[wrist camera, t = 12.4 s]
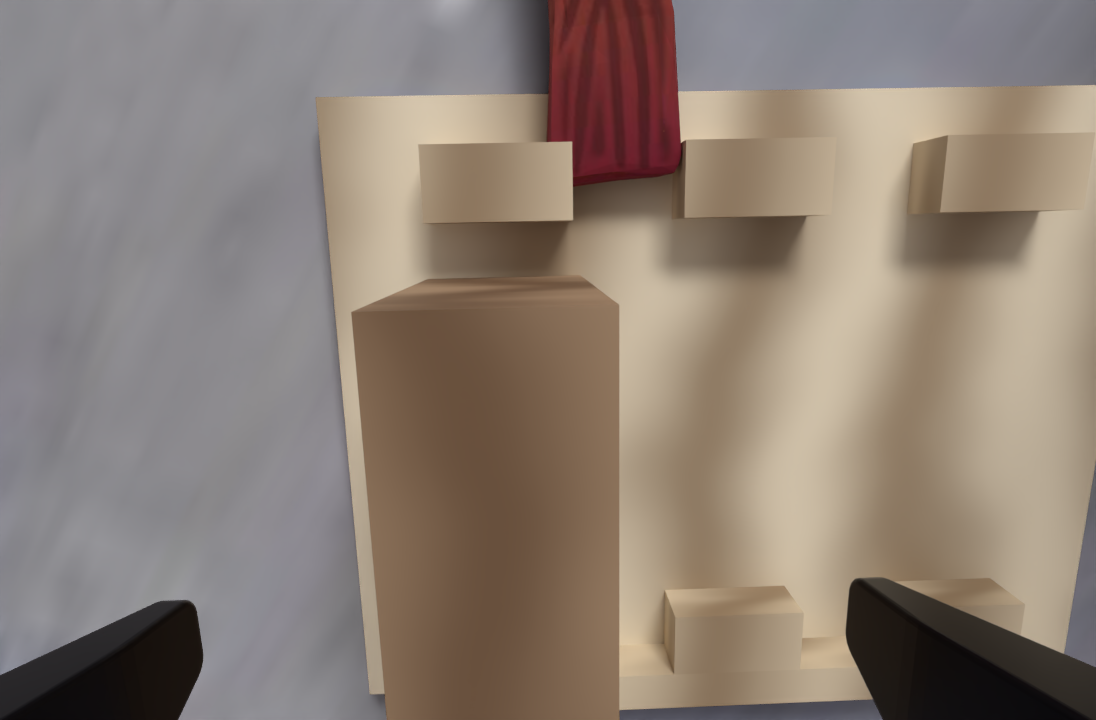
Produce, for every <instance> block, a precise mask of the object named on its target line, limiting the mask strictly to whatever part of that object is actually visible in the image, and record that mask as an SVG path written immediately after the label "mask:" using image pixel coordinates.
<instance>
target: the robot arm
mask: <svg viewBox="0 0 1096 720" xmlns="http://www.w3.org/2000/svg"><path fill="white" fill-rule="evenodd" d="M846 641H847V645H848V648H849V651H850V653H851V655H852V657H853V659H854V661H855V663H856V665H857V667H858V670H859V672H860V674H861V676H862V678H863V680H864V682H865V684H866V686H867V688H868V690H869V692H870V694H871V696H872V698H873V700H874V703H875V705H876V707H877V709H878V711H879V713H880V715H881V717H882V719H883V720H1096V667H1093V666H1091V665H1089V664H1086V663H1084V662H1082V661H1079V660H1077V659H1075V658H1072V657H1070V656H1068V655H1065V654H1063V653H1061V652H1058V651H1056V650H1054V649H1051V648H1049V647H1047V646H1044V645H1042V644H1039V643H1037V642H1035V641H1032V640H1030V639H1028V638H1025V637H1023V636H1021V635H1018V634H1016V633H1014V632H1011V631H1009V630H1007V629H1004V628H1002V627H1000V626H997V625H995V624H993V623H990V622H988V621H985V620H983V619H981V618H978V617H976V616H974V615H971V614H969V613H967V612H964V611H962V610H960V609H957V608H955V607H953V606H950V605H948V604H946V603H943V602H941V601H939V600H936V599H934V598H932V597H929V596H927V595H924V594H922V593H920V592H917V591H915V590H913V589H910V588H908V587H906V586H903V585H901V584H899V583H896V582H894V581H892V580H889V579H887V578H883V577H867V578H856V579H854V580H853V581H852V582H851V584H850V588H849V595H848V607H847V618H846ZM202 663H203V649H202V642H201V635H200V629H199V622H198V616H197V611H196V607H195V606H194V604H193V603H192V602H190V601H188V600H175V601H160V602H157V603H154V604H152V605H150V606H148V607H146V608H143V609H141V610H139V611H137V612H135V613H133V614H131V615H128V616H126V617H124V618H122V619H120V620H118V621H116V622H113V623H111V624H109V625H107V626H105V627H103V628H101V629H98V630H96V631H94V632H92V633H90V634H88V635H86V636H83V637H81V638H79V639H77V640H75V641H73V642H71V643H68V644H66V645H64V646H62V647H60V648H58V649H56V650H53V651H51V652H49V653H47V654H45V655H43V656H41V657H38V658H36V659H34V660H32V661H30V662H28V663H26V664H23V665H21V666H19V667H17V668H15V669H13V670H11V671H9V672H6V673H4V674H2V675H0V720H178V719H179V717H180V715H181V713H182V711H183V708H184V706H185V704H186V702H187V700H188V698H189V696H190V694H191V691H192V689H193V687H194V685H195V683H196V681H197V679H198V677H199V674H200V672H201V668H202Z"/></svg>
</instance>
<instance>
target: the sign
mask: <svg viewBox="0 0 1096 720" xmlns="http://www.w3.org/2000/svg"><path fill="white" fill-rule="evenodd" d="M548 13H549V31H550V49H549V91H548V115H547V139H546V142H572V169H573V187H576V186H583V185H590V184H597V183H604V182H611V181H618V180H629V179H641V178H653V177H660V176H664V175H668V174H672V173H674V172H675V170H676V168H677V167H678V165H679V161H680V157H681V137H680V118H679V100H678V81H677V62H676V43H675V24H674V10H673V6H672V1H671V0H548Z"/></svg>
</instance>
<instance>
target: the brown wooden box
mask: <svg viewBox="0 0 1096 720" xmlns="http://www.w3.org/2000/svg"><path fill="white" fill-rule="evenodd" d="M351 316H352V327H353V339H354V350H355V362H356V373H357V384H358V396H359V407H360V419H361V430H362V442H363V453H364V464H365V476H366V487H367V499H368V510H369V522H370V533H371V544H372V556H373V567H374V579H375V590H376V601H377V613H378V624H379V636H380V647H381V659H382V670H383V681H384V693H385V704H386V716H387V720H619V304H618V303H616V302H615V301H614V300H612V299H611V298H610V297H608V296H607V295H606V294H604V293H603V292H602V291H600V290H599V289H598V288H597V287H595V286H594V285H593V284H591V283H590V282H589V281H587V280H586V279H585V278H583V277H582V276H581V275H564V276H525V277H485V278H446V279H427V280H424V281H422V282H420V283H417V284H415V285H413V286H410V287H408V288H406V289H403V290H401V291H399V292H397V293H394V294H392V295H390V296H387V297H385V298H383V299H380V300H378V301H376V302H373V303H371V304H369V305H366V306H364V307H362V308H359V309H357V310H355V311H352V312H351Z"/></svg>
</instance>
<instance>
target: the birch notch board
mask: <svg viewBox="0 0 1096 720" xmlns="http://www.w3.org/2000/svg"><path fill="white" fill-rule="evenodd" d="M678 100H679V118H680V137H681V157H680V161H679V165H678V167H677V168H676V170H675V172H674V173H672V174H668V175H664V176H660V177H653V178H641V179H629V180H618V181H611V182H604V183H597V184H590V185H583V186H576V187H573V169H572V142H546V139H547V115H548V94H499V95H435V96H371V97H316V107H317V118H318V129H319V140H320V151H321V162H322V173H323V184H324V195H325V206H326V217H327V228H328V239H329V251H330V262H331V273H332V284H333V295H334V306H335V317H336V328H337V339H338V350H339V361H340V372H341V383H342V394H343V405H344V416H345V427H346V438H347V449H348V460H349V471H350V482H351V493H352V504H353V515H354V526H355V537H356V548H357V559H358V570H359V581H360V592H361V603H362V614H363V625H364V636H365V647H366V658H367V669H368V680H369V691H370V694H385V693H384V681H383V670H382V659H381V647H380V636H379V624H378V613H377V601H376V590H375V579H374V567H373V556H372V544H371V533H370V522H369V510H368V499H367V487H366V476H365V464H364V453H363V442H362V430H361V419H360V407H359V396H358V384H357V373H356V362H355V350H354V339H353V327H352V316H351V312H352V311H355V310H357V309H359V308H362V307H364V306H366V305H369V304H371V303H373V302H376V301H378V300H380V299H383V298H385V297H387V296H390V295H392V294H394V293H397V292H399V291H401V290H403V289H406V288H408V287H410V286H413V285H415V284H417V283H420V282H422V281H424V280H427V279H446V278H485V277H525V276H564V275H581V276H582V277H583V278H585V279H586V280H587V281H589V282H590V283H591V284H593V285H594V286H595V287H597V288H598V289H599V290H600V291H602V292H603V293H604V294H606V295H607V296H608V297H610V298H611V299H612V300H614V301H615V302H616V303H618V304H619V710H632V709H655V708H679V707H703V706H726V705H750V704H774V703H798V702H821V701H845V700H869V699H873V698H872V696H871V694H870V692H869V690H868V688H867V686H866V684H865V682H864V680H863V678H862V676H861V674H860V672H859V670H858V667H857V665H856V663H855V661H854V659H853V657H852V655H851V653H850V651H849V648H848V645H847V641H846V618H847V607H848V595H849V588H850V584H851V582H852V581H853V580H854V579H856V578H867V577H883V578H887V579H889V580H892V581H894V582H896V583H899V584H901V585H903V586H906V587H908V588H910V589H913V590H915V591H917V592H920V593H922V594H924V595H927V596H929V597H932V598H934V599H936V600H939V601H941V602H943V603H946V604H948V605H950V606H953V607H955V608H957V609H960V610H962V611H964V612H967V613H969V614H971V615H974V616H976V617H978V618H981V619H983V620H985V621H988V622H990V623H993V624H995V625H997V626H1000V627H1002V628H1004V629H1007V630H1009V631H1011V632H1014V633H1016V634H1018V635H1021V636H1023V637H1025V638H1028V639H1030V640H1032V641H1035V642H1037V643H1039V644H1042V645H1044V646H1047V647H1049V648H1051V649H1054V650H1056V651H1058V652H1061V653H1063V654H1064V650H1065V644H1066V638H1067V632H1068V626H1069V620H1070V614H1071V608H1072V602H1073V595H1074V589H1075V583H1076V577H1077V571H1078V565H1079V559H1080V553H1081V547H1082V541H1083V535H1084V529H1085V523H1086V517H1087V511H1088V505H1089V499H1090V493H1091V487H1092V481H1093V475H1094V469H1095V463H1096V85H1076V86H1012V87H948V88H884V89H820V90H756V91H692V92H678Z"/></svg>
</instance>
